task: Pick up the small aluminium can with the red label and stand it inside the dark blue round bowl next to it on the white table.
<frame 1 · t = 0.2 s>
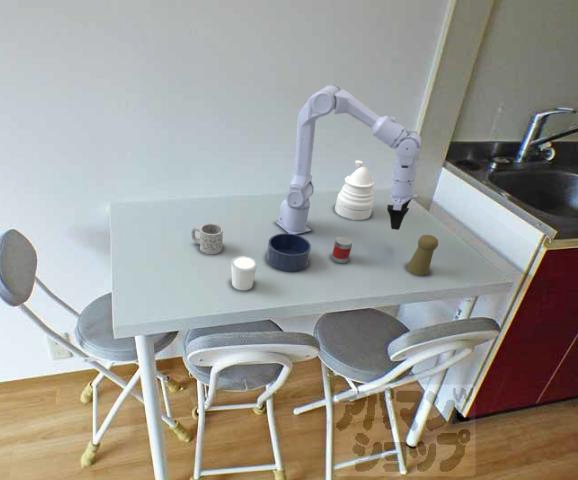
hand: (397, 223, 124), 10 cm above the table, tool pointing down, fingers open, 7 cm apart
white tapered cylinder: (242, 284, 114), on the table
can: (339, 258, 127), on the table
mug: (206, 247, 128), on the table
dark blue round bowl: (287, 259, 125), on the table
honey pot: (352, 211, 153), on the table
cork: (417, 270, 124), on the table
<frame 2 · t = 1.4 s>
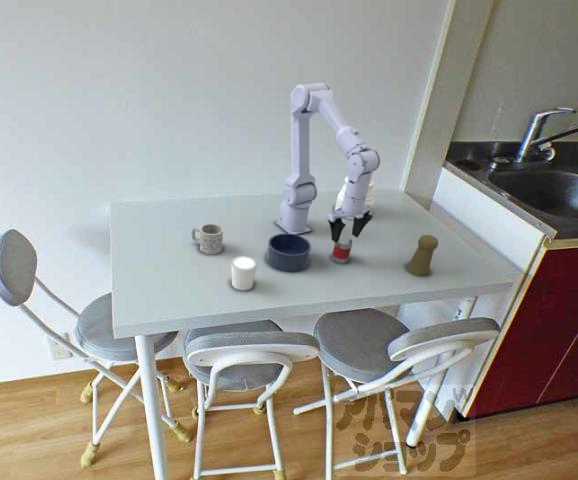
hand: (344, 238, 122), 7 cm above the table, tool pointing down, fingers open, 7 cm apart
nothing on the table moved.
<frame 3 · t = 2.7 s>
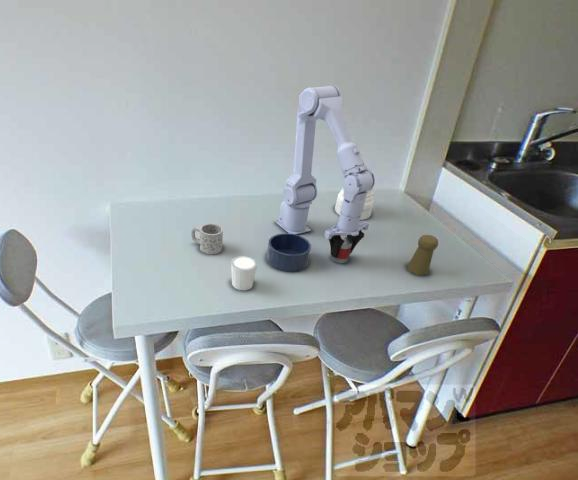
hand: (340, 254, 126), 2 cm above the table, tool pointing down, fingers closed on can, 5 cm apart
can: (339, 258, 127), on the table, touching gripper
everything else where it was.
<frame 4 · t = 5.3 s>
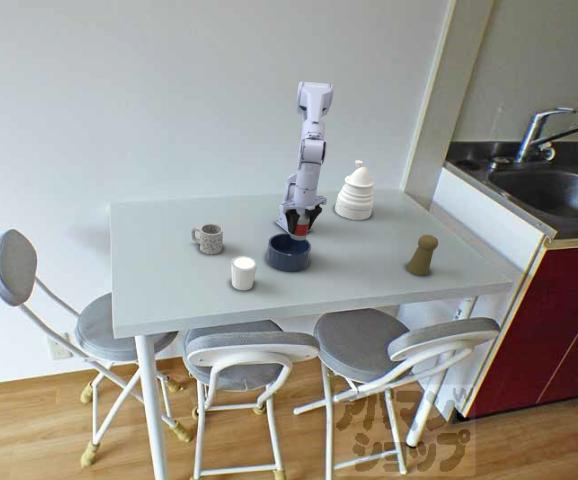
hand: (298, 230, 119), 10 cm above the table, tool pointing down, fingers closed on can, 5 cm apart
can: (298, 236, 120), point 8 cm above the table, touching gripper
everything else where it was.
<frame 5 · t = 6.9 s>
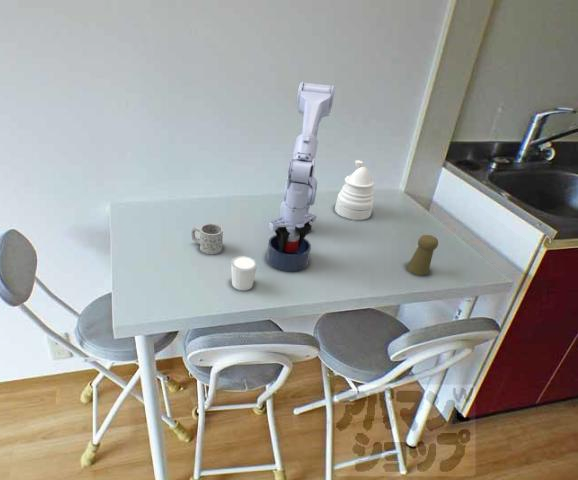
hand: (289, 247, 122), 4 cm above the table, tool pointing down, fingers closed on can, 5 cm apart
can: (288, 252, 123), point 3 cm above the table, touching gripper
everything else where it was.
when the fingers open (2 cm above the table, at t = 8.1 s): can stays where it is, resting on dark blue round bowl.
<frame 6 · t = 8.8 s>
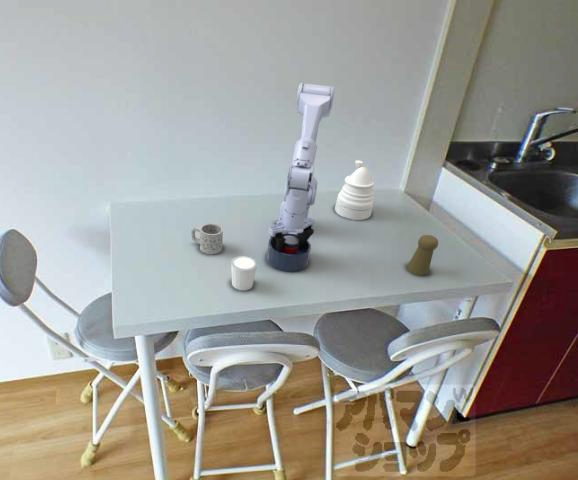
hand: (288, 251, 123), 3 cm above the table, tool pointing down, fingers open, 7 cm apart
can: (287, 258, 124), resting on dark blue round bowl
everything else where it was.
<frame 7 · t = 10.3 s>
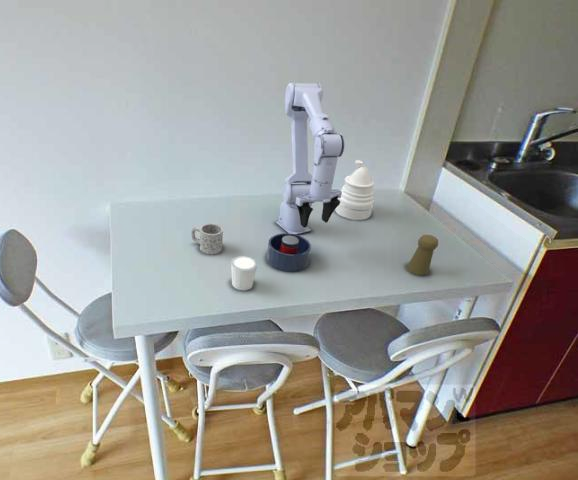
hand: (314, 223, 123), 10 cm above the table, tool pointing down, fingers open, 7 cm apart
nothing on the table moved.
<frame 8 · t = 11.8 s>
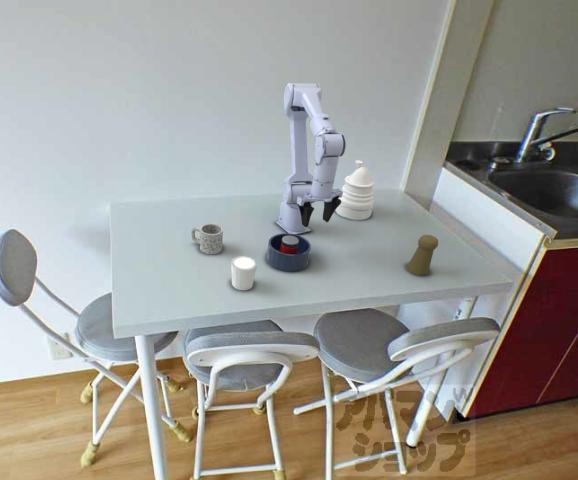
hand: (315, 223, 123), 10 cm above the table, tool pointing down, fingers open, 7 cm apart
nothing on the table moved.
at the end: can 0.1 cm off-centre in the dark blue round bowl, point 0.5 cm above the dark blue round bowl's base; can tilted 0°; the gripper is holding nothing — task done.
